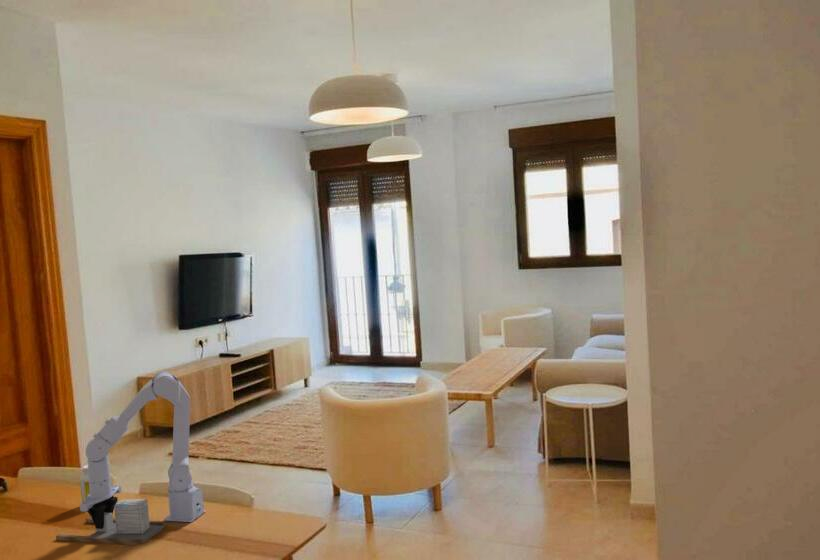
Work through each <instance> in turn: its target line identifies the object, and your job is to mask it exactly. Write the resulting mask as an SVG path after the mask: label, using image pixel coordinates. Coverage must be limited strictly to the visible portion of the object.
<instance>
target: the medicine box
mask: <svg viewBox="0 0 820 560" xmlns="http://www.w3.org/2000/svg"><path fill="white" fill-rule="evenodd" d="M148 503H149V502H148V499H147V498H129V499H128V498H126V499H125V498H124V499H121V500H119V501H117V503H116V505H114V519H115V522H116V533H117V534H143V533H144V532H145V531H146V530H147V529H148V528H149V527H150V523H149V521H150V516H149V504H148Z"/></svg>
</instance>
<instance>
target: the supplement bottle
mask: <svg viewBox="0 0 820 560" xmlns="http://www.w3.org/2000/svg"><path fill="white" fill-rule="evenodd" d="M82 472H83V474H81V475H80V477H79V482H80V483H79V484H80V493H81V504H82V503H83V502H84V501H85V500H86V499H87V498H88V495H89V494H90V489H89V478H88V464H86V465H83V466H82Z"/></svg>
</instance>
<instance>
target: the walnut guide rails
mask: <svg viewBox="0 0 820 560" xmlns="http://www.w3.org/2000/svg"><path fill="white" fill-rule="evenodd" d="M85 523H86V524H94V522H93V520H92V518H91V516H89V517H86V518H85ZM113 523H116V522H115V518H113ZM149 523H150V525H158V526H164V521H160V520H149ZM55 541H65V542H79V543H80V542H81V543H94V544H95V543H96V544H110V545H123V546H124V545H127V546H136V545H138V543H139V542H138V541H137V539H123V538H107V537H92V536H90V535H89V536H87V535H75V534H73V535H71V534H57V535H56V536H55Z"/></svg>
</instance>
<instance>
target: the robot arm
mask: <svg viewBox="0 0 820 560" xmlns="http://www.w3.org/2000/svg"><path fill="white" fill-rule="evenodd" d="M158 397H161V398H163V399H164V400H165V399H166V400H168V401H169V402H170V403H171V404H173V406H174V407H173V431H172V432H173V434H172V438H173V439H172V455H171V464H170V466H169V468H168V470H167V475H168V478H169V481H168V482H169V485H168V487H167V493H168V507H169V509H168V510H169V515H167V516H165V518H164V519H163V522H164V521H165V522H181V523H182V522H183V523H192V522H194V521H195V520H196V519H198V518H200V516H201V515H203V514H204V513H206V510H205V507H204V493H203V490H202V489H201V488H200V487H196V486H195V485H194V482H193V477H192V474H191V469H190V461H189V454H190V453H189V451H190V450H189V449H190V448H189V447H190V427H191V426H190V425H191V424H190V422H191V397H190V395H189V393H188V392H187V390H186V389H185V386H183V383H181V382H180V380H179V379H178V377H177V376H175V375H174V374H172V373H171V372H169V371H165V370H164V371H163V370H162V371H160V372H157V373H156V374H155V375H154V376H153V378H152V379H149V381H148V382H146V384H144V386H143V387H141V388H140V390H139V391H138V393H137V394H136V395H134V398H132V399H131V401H130V402H129V403H128V404H127V405H126V407H124V409H123V410H122V412H121V413H120V414H118V415H113V416H111V417H110V419H109V418H106V420H105V422H104V424H105V425H104V426H103V427H101V429H100V430H99V431H98V432H97V433H96V432H95V434H93V436H92V437H93V438H92V439H90V440H89V441H88V443H87V445H86V449H85V456H86V457H87V465H88V478H89V489H90V494H89V495H88V498H87V499H86V500H85V501H84V502H83V503H82V502H81V503H80V504H79V511H80V512H87V513H88V514H89V517H90V518H92V520H93V522H94V523H93V524H94V526H95V527H96V529H102V528H103V527H104V513H112V516H113V515H114V511H115V509H114V505H116V504H117V503H118V502H119V501H118V499H119V498H118V497H117V496H115V495H117V494H120V493H122V485H118V484H117V485H113V486H112V478H111V477H112V476H111V465H110V461H109V449H110V448H112V447H114V446H115V445H116V444H117V442H118V441H119V440H120V439H121V438H122V437H123V435H124V434H125V433H126V432H127V430H129V428H130V427H129V422H130V421H131V420H132V419H133V417H134V416H135V415H136V414H138V412H139V411H140V410H141V409H142V408H143V407H144V406H145V405H146V404H147V403H148V402H152V401H155V400H157V399H158ZM95 527H94V528H95Z"/></svg>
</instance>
